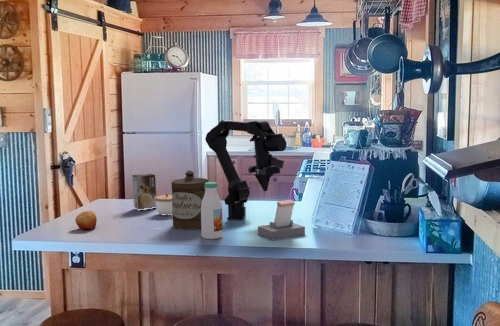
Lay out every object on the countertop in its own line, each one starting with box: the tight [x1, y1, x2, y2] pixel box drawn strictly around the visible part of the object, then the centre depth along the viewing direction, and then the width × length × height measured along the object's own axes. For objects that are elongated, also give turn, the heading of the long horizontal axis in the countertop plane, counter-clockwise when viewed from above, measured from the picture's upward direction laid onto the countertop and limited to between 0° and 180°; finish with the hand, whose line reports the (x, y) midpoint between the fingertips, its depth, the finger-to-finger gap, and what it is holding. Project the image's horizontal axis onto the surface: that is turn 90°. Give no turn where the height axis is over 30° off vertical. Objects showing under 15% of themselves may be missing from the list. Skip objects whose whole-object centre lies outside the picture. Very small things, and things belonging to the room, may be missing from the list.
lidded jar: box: [155, 192, 172, 215], centre depth 236 cm, size 11×11×9 cm
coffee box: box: [131, 173, 157, 209], centre depth 248 cm, size 9×6×16 cm
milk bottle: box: [200, 181, 224, 240], centre depth 195 cm, size 8×8×20 cm
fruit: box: [75, 210, 98, 230], centre depth 212 cm, size 8×8×8 cm
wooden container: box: [171, 170, 209, 230], centre depth 213 cm, size 15×15×22 cm
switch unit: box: [257, 219, 306, 241], centre depth 197 cm, size 10×14×5 cm
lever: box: [273, 199, 295, 228], centre depth 195 cm, size 2×6×10 cm, turn 120°
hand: (265, 191), depth 215 cm, fingers closed
